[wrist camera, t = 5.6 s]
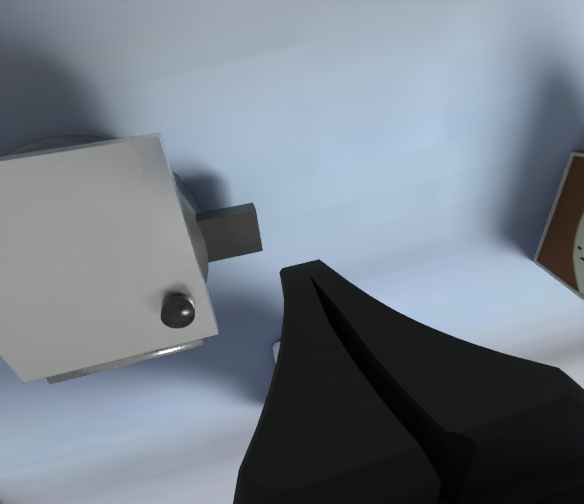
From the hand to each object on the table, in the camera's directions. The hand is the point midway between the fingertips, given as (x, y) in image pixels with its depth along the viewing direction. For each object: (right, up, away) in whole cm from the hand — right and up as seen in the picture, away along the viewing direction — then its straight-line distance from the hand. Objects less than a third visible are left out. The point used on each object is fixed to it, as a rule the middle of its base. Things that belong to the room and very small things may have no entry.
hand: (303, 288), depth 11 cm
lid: (-10, 0, +5) cm, 11 cm away
